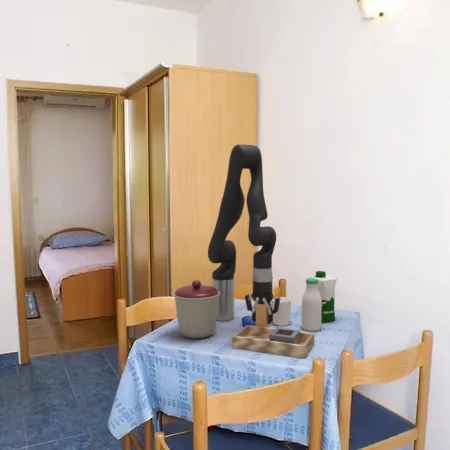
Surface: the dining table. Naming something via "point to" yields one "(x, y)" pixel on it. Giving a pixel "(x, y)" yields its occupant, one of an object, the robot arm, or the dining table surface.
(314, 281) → the milk bottle
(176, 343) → the dining table surface
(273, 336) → the socket
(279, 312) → the white cup
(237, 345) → the oak box
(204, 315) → the canister
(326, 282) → the milk carton
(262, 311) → the plug
